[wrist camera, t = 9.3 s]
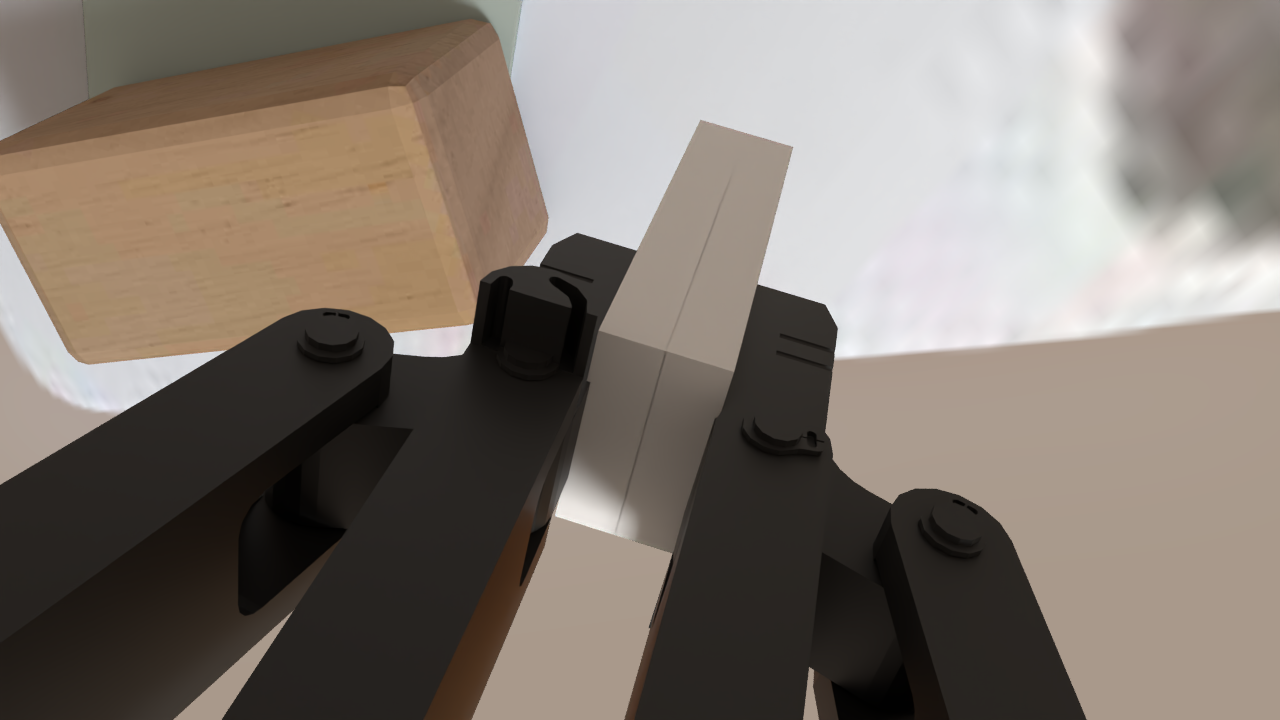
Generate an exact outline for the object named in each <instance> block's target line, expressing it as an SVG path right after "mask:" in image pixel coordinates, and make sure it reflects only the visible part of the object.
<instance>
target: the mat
mask: <svg viewBox="0 0 1280 720" xmlns="http://www.w3.org/2000/svg"><path fill="white" fill-rule="evenodd" d="M521 6H522V0H83V16H84V31H85V47H86V62H87V78H88V94H89V99H91V98H93V97H95V96H97V95H99V94H101V93H103V92H105V91H108V90H110V89H112V88H114V87H119V86H124V85H129V84H135V83H140V82H145V81H150V80H155V79H161V78H166V77H171V76H176V75H181V74H186V73H192V72H197V71H202V70H207V69H212V68H218V67H223V66H228V65H233V64H238V63H244V62H249V61H254V60H259V59H264V58H269V57H275V56H280V55H285V54H290V53H295V52H301V51H306V50H311V49H316V48H321V47H327V46H332V45H337V44H342V43H347V42H352V41H358V40H363V39H368V38H373V37H378V36H384V35H389V34H394V33H399V32H404V31H410V30H415V29H420V28H425V27H430V26H435V25H441V24H446V23H451V22H456V21H461V20H467V19H474V20H478V21H482V22H487V23H491V25H492V26H493V28H494V29H495V31H496V33H497V34H498V36H499V39H500V43H501V46H502V50H503V54H504V57H505V61H506V65H507V68H508V72H509V75H510V77H511V71H512V64H513V58H514V51H515V45H516V38H517V32H518V25H519V19H520V12H521Z"/></svg>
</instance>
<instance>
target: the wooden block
mask: <svg viewBox="0 0 1280 720" xmlns="http://www.w3.org/2000/svg"><path fill="white" fill-rule="evenodd" d="M0 224H1V226H2V228H3V229H4V231H5V233H6V235H7V237H8V239H9V241H10V243H11V245H12V247H13V248H14V250H15V252H16V254H17V256H18V258H19V260H20V262H21V264H22V266H23V267H24V269H25V271H26V273H27V275H28V277H29V279H30V281H31V283H32V285H33V286H34V288H35V290H36V292H37V294H38V296H39V298H40V300H41V302H42V304H43V305H44V307H45V309H46V311H47V313H48V315H49V317H50V319H51V321H52V323H53V324H54V326H55V328H56V330H57V332H58V334H59V336H60V338H61V340H62V342H63V343H64V345H65V347H66V349H67V351H68V352H69V353H70V354H71V355H72V356H73V357H74V358H75V359H76V360H77V361H78V362H82V363H85V364H98V363H107V362H117V361H127V360H136V359H146V358H155V357H165V356H175V355H184V354H194V353H203V352H213V351H222V350H229V349H231V348H232V347H234V346H236V345H237V344H239V343H241V342H242V341H244V340H246V339H247V338H249V337H251V336H252V335H254V334H256V333H258V332H259V331H261V330H263V329H264V328H266V327H268V326H269V325H271V324H273V323H274V322H276V321H278V320H279V319H281V318H283V317H286V316H288V315H291V314H294V313H296V312H299V311H301V310H309V309H318V308H335V309H343V310H350V311H353V312H356V313H359V314H362V315H365V316H368V317H370V318H372V319H373V320H375V321H376V322H378V323H379V324H381V325H382V326H383V327H385V328H386V329H387V331H388V332H389V333H395V332H405V331H414V330H424V329H433V328H443V327H452V326H462V325H469V324H473V323H474V317H475V310H476V304H477V297H478V291H479V284H480V280H481V279H483V278H484V277H485V276H487V275H488V274H489V273H490V272H492V271H494V270H498V269H502V268H505V267H509V266H523V265H524V264H525V262H526V261H527V259H528V258H529V257H530V255H531V254H532V252H533V251H534V249H535V248H536V247H537V245H538V244H539V242H540V241H541V239H542V238H543V237H544V235H545V234H546V232H547V224H548V214H547V210H546V206H545V203H544V199H543V196H542V192H541V188H540V185H539V181H538V177H537V174H536V170H535V166H534V163H533V159H532V155H531V152H530V148H529V145H528V141H527V137H526V134H525V130H524V126H523V123H522V119H521V115H520V112H519V108H518V105H517V101H516V97H515V94H514V90H513V86H512V83H511V79H510V75H509V72H508V68H507V65H506V61H505V57H504V54H503V50H502V46H501V43H500V39H499V36H498V34H497V33H496V31H495V29H494V28H493V26H492V25H491V23H487V22H482V21H478V20H474V19H467V20H461V21H456V22H451V23H446V24H441V25H435V26H430V27H425V28H420V29H415V30H410V31H404V32H399V33H394V34H389V35H384V36H378V37H373V38H368V39H363V40H358V41H352V42H347V43H342V44H337V45H332V46H327V47H321V48H316V49H311V50H306V51H301V52H295V53H290V54H285V55H280V56H275V57H269V58H264V59H259V60H254V61H249V62H244V63H238V64H233V65H228V66H223V67H218V68H212V69H207V70H202V71H197V72H192V73H186V74H181V75H176V76H171V77H166V78H161V79H155V80H150V81H145V82H140V83H135V84H129V85H124V86H119V87H114V88H112V89H110V90H108V91H105V92H103V93H101V94H99V95H97V96H95V97H93V98H91V99H88V100H86V101H84V102H82V103H80V104H78V105H76V106H74V107H71V108H69V109H67V110H65V111H63V112H61V113H59V114H57V115H54V116H52V117H50V118H48V119H46V120H44V121H42V122H39V123H37V124H35V125H33V126H31V127H29V128H27V129H25V130H22V131H20V132H18V133H16V134H14V135H12V136H10V137H8V138H5V139H3V140H1V141H0Z"/></svg>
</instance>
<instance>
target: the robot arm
mask: <svg viewBox="0 0 1280 720" xmlns="http://www.w3.org/2000/svg"><path fill="white" fill-rule="evenodd" d="M792 149H793V147H791V146H788V145H784V144H781V143H777V142H774V141H771V140H767V139H764V138H760V137H757V136H754V135H750V134H747V133H743V132H740V131H736V130H733V129H730V128H726V127H723V126H719V125H716V124H712V123H709V122H706V121H702V120H700V122H699V124H698V126H697V128H696V130H695V133H694V135H693V137H692V139H691V141H690V143H689V145H688V147H687V149H686V151H685V153H684V155H683V157H682V159H681V161H680V163H679V166H678V168H677V170H676V172H675V174H674V176H673V178H672V180H671V182H670V184H669V186H668V188H667V190H666V192H665V194H664V196H663V199H662V201H661V203H660V205H659V207H658V209H657V211H656V213H655V215H654V217H653V219H652V221H651V223H650V225H649V227H648V229H647V232H646V234H645V236H644V238H643V240H642V242H641V244H640V246H639V248H638V250H637V251H636V250H632V249H629V248H626V247H622V246H619V245H616V244H612V243H609V242H606V241H602V240H599V239H596V238H592V237H589V236H586V235H582V234H579V233H576V234H574V235H572V236H570V237H568V238H566V239H564V240H562V241H560V242H558V243H556V244H554V245H552V247H551V248H550V250H549V251H548V253H547V254H546V256H545V258H544V259H543V261H542V262H541V264H540V267H537V266H509V267H505V268H502V269H498V270H494V271H492V272H490V273H489V274H488V275H487V276H485V277H484V278H483V279H481V280H480V284H479V291H478V297H477V304H476V310H475V317H474V324H473V330H472V337H471V343H470V345H469V346H468V348H467V349H466V351H465V352H464V354H463V355H458V356H450V357H421V356H411V355H400V354H393V348H394V341H393V339H392V337H391V336H390V334H389V332H388V331H387V329H386V328H385V327H383V326H382V325H381V324H379V323H378V322H376V321H375V320H373V319H372V318H370V317H368V316H365V315H362V314H359V313H356V312H353V311H350V310H343V309H335V308H318V309H309V310H301V311H299V312H296V313H294V314H291V315H288V316H286V317H283V318H281V319H279V320H278V321H276V322H274V323H273V324H271V325H269V326H268V327H266V328H264V329H263V330H261V331H259V332H258V333H256V334H254V335H252V336H251V337H249V338H247V339H246V340H244V341H242V342H241V343H239V344H237V345H236V346H234V347H232V348H231V349H229V350H227V351H225V352H224V353H222V354H220V355H219V356H217V357H215V358H214V359H212V360H210V361H209V362H207V363H205V364H203V365H202V366H200V367H198V368H197V369H195V370H193V371H192V372H190V373H188V374H187V375H185V376H183V377H182V378H180V379H178V380H176V381H175V382H173V383H171V384H170V385H168V386H166V387H165V388H163V389H161V390H160V391H158V392H156V393H155V394H153V395H151V396H149V397H148V398H146V399H144V400H143V401H141V402H139V403H138V404H136V405H134V406H133V407H131V408H129V409H127V410H126V411H124V412H122V413H121V414H119V415H117V416H116V417H114V418H112V419H111V420H109V421H107V422H106V423H104V424H102V425H101V426H99V427H97V428H95V429H94V430H92V431H90V432H89V433H87V434H85V435H84V436H82V437H80V438H79V439H77V440H75V441H73V442H72V443H70V444H68V445H67V446H65V447H63V448H62V449H60V450H58V451H57V452H55V453H53V454H51V455H50V456H49V457H47V458H45V459H43V460H41V461H40V462H38V463H36V464H35V465H33V466H31V467H30V468H28V469H26V470H24V471H23V472H21V473H19V474H18V475H16V476H14V477H13V478H11V479H9V480H8V481H6V482H4V483H3V484H1V485H0V720H173V719H174V718H175V717H176V716H178V715H179V714H180V713H181V712H182V711H183V710H184V709H185V708H186V707H187V706H189V705H190V704H191V703H192V702H193V701H194V700H195V699H196V698H197V697H198V696H200V695H201V694H202V693H203V692H204V691H205V690H206V689H207V688H208V687H209V686H211V685H212V684H213V683H214V682H215V681H216V680H217V679H218V678H219V677H220V676H222V675H223V673H225V672H226V671H227V670H228V669H229V668H230V667H231V666H232V665H234V664H235V663H236V662H237V661H238V660H239V659H240V658H241V657H242V656H243V655H245V654H246V653H247V652H248V651H249V650H250V649H251V648H252V647H253V646H254V645H256V644H257V643H258V642H259V641H260V640H261V639H262V638H263V637H264V636H265V635H266V634H268V633H269V632H270V631H271V630H272V629H273V628H274V627H275V626H276V625H278V624H279V623H280V622H281V621H282V620H283V619H284V618H285V617H286V616H287V615H288V614H289V613H291V612H292V611H293V610H294V611H293V612H292V614H291V616H290V617H289V618H288V620H287V622H286V623H285V625H284V626H283V628H282V629H281V631H280V632H279V634H278V635H277V637H276V638H275V640H274V641H273V643H272V644H271V646H270V647H269V649H268V650H267V652H266V653H265V655H264V656H263V658H262V659H261V661H260V662H259V664H258V665H257V667H256V668H255V670H254V671H253V673H252V674H251V676H250V678H249V679H248V681H247V682H246V684H245V685H244V687H243V688H242V690H241V691H240V693H239V694H238V696H237V697H236V699H235V700H234V702H233V703H232V705H231V706H230V708H229V709H228V711H227V712H226V714H225V715H224V717H223V719H222V720H471V719H472V717H473V715H474V712H475V710H476V707H477V705H478V703H479V700H480V698H481V696H482V693H483V691H484V688H485V686H486V684H487V681H488V679H489V677H490V674H491V672H492V670H493V667H494V664H495V663H496V660H497V658H498V655H499V653H500V650H501V648H502V646H503V643H504V641H505V639H506V636H507V634H508V632H509V629H510V627H511V625H512V622H513V620H514V617H515V615H516V613H517V610H518V608H519V606H520V603H521V601H522V598H523V596H524V594H525V591H526V589H527V587H528V584H529V582H530V580H531V577H532V574H533V573H534V570H535V568H536V565H537V563H538V561H539V558H540V556H541V554H542V551H543V549H544V546H545V542H546V538H547V534H548V529H549V525H550V520H551V516H552V513H553V511H554V509H555V507H556V504H557V502H558V500H559V502H558V506H557V511H556V515H555V516H556V517H559V518H563V519H566V520H569V521H572V522H575V523H578V524H582V525H585V526H588V527H591V528H594V529H597V530H601V531H604V532H607V533H610V534H613V535H616V536H619V537H623V538H626V539H629V540H632V541H635V542H638V543H641V544H645V545H648V546H651V547H654V548H657V549H660V550H664V551H667V552H670V553H673V554H672V558H671V560H670V564H669V567H668V570H667V573H666V576H665V579H664V582H663V585H662V588H661V591H660V594H659V597H658V601H657V603H656V607H655V610H654V613H653V616H652V619H651V622H650V625H649V628H650V631H649V635H648V638H647V642H646V645H645V649H644V652H643V656H642V659H641V663H640V666H639V670H638V674H637V677H636V681H635V684H634V688H633V691H632V695H631V698H630V702H629V705H628V709H627V712H626V716H625V719H624V720H803V715H804V706H805V697H806V689H807V680H808V671H809V667H810V668H812V669H814V684H813V688H814V694H815V699H816V705H817V709H818V715H819V720H1086V717H1085V715H1084V713H1083V710H1082V707H1081V705H1080V703H1079V701H1078V698H1077V696H1076V693H1075V691H1074V688H1073V686H1072V684H1071V681H1070V679H1069V676H1068V674H1067V672H1066V669H1065V667H1064V665H1063V662H1062V660H1061V658H1060V655H1059V653H1058V650H1057V648H1056V646H1055V643H1054V641H1053V638H1052V636H1051V634H1050V631H1049V629H1048V626H1047V624H1046V622H1045V619H1044V617H1043V614H1042V612H1041V610H1040V607H1039V605H1038V603H1037V600H1036V598H1035V595H1034V593H1033V591H1032V588H1031V586H1030V583H1029V581H1028V579H1027V576H1026V574H1025V572H1024V569H1023V567H1022V565H1021V562H1020V560H1019V558H1018V555H1017V552H1016V550H1015V548H1014V546H1013V543H1012V541H1011V539H1010V538H1009V536H1008V535H1007V533H1006V532H1005V530H1004V529H1003V527H1002V525H1001V524H1000V523H999V522H998V521H997V520H996V519H994V518H993V517H992V516H991V515H990V514H989V513H988V512H986V511H985V510H984V509H983V508H982V507H980V506H978V505H976V504H974V503H973V502H971V501H969V500H967V499H965V498H963V497H961V496H959V495H956V494H952V493H949V492H946V491H942V490H938V489H913V490H910V491H908V492H905V493H903V494H900V495H899V496H898V497H897V499H896V500H895V502H894V503H893V504H891V503H889V502H887V501H885V500H883V499H882V498H880V497H878V496H876V495H874V494H873V493H871V492H869V491H867V490H866V489H864V488H863V487H861V486H860V485H858V484H857V483H855V482H854V481H852V480H851V479H850V478H849V477H848V476H847V475H846V474H845V473H843V472H842V471H841V470H840V469H839V467H838V466H837V465H836V463H835V462H834V461H833V459H832V458H833V453H832V447H831V441H830V438H829V437H828V436H827V434H826V433H825V429H826V421H827V412H828V404H829V396H830V388H831V380H832V369H833V363H834V355H835V354H834V352H835V347H836V339H837V330H838V328H837V326H836V324H835V322H834V320H833V318H832V316H831V315H830V313H829V311H828V309H827V307H826V305H824V304H821V303H818V302H815V301H811V300H808V299H805V298H801V297H798V296H795V295H791V294H788V293H785V292H781V291H778V290H775V289H771V288H768V287H765V286H761V285H758V284H757V283H758V279H759V275H760V272H761V268H762V264H763V260H764V256H765V252H766V249H767V245H768V241H769V237H770V233H771V230H772V226H773V222H774V218H775V214H776V211H777V207H778V203H779V199H780V195H781V191H782V188H783V184H784V180H785V176H786V172H787V169H788V165H789V161H790V157H791V153H792ZM559 497H560V498H559Z"/></svg>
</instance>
